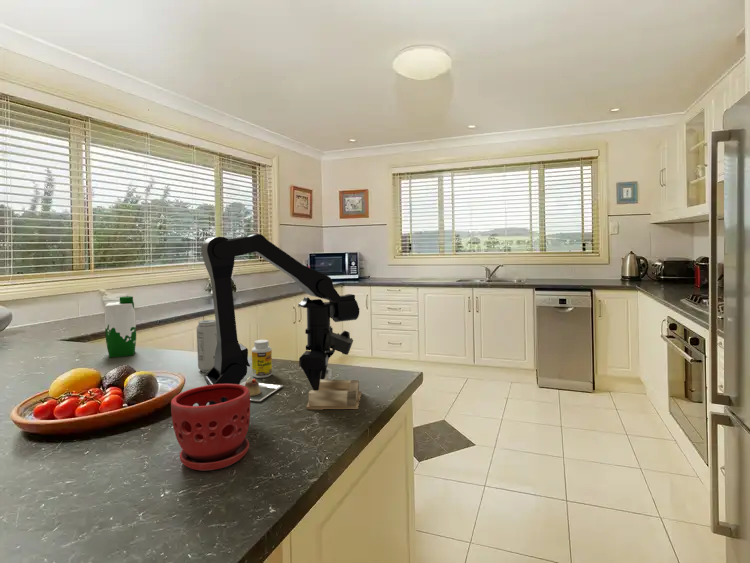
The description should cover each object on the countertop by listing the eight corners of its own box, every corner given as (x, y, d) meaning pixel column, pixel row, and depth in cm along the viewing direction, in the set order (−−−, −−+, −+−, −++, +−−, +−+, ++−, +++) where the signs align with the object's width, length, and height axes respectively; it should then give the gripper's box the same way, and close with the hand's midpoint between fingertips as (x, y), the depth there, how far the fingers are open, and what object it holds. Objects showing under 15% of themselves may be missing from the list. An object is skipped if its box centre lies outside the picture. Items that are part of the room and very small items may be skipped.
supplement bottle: (255, 379, 121) (254, 344, 120) (249, 374, 126) (248, 340, 125) (274, 376, 124) (274, 341, 124) (268, 371, 129) (267, 338, 128)
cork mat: (357, 409, 99) (357, 407, 99) (306, 409, 100) (306, 406, 100) (361, 393, 110) (361, 391, 110) (314, 392, 110) (314, 390, 110)
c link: (359, 391, 110) (359, 380, 109) (355, 406, 100) (355, 393, 99) (316, 391, 110) (316, 379, 110) (308, 405, 100) (308, 393, 100)
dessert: (284, 389, 115) (283, 371, 115) (260, 405, 104) (259, 386, 103) (244, 385, 118) (244, 368, 118) (217, 400, 107) (216, 381, 106)
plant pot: (259, 440, 84) (257, 380, 83) (240, 476, 71) (238, 406, 70) (191, 441, 84) (188, 381, 82) (160, 478, 70) (156, 407, 69)
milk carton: (136, 355, 148) (133, 298, 146) (105, 358, 144) (101, 299, 142) (138, 350, 156) (135, 295, 154) (108, 352, 152) (105, 296, 150)
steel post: (330, 387, 115) (330, 370, 114) (319, 387, 115) (319, 370, 115) (332, 383, 118) (332, 367, 117) (321, 383, 118) (321, 367, 118)
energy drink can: (219, 371, 129) (218, 322, 128) (198, 373, 127) (196, 323, 126) (219, 366, 135) (217, 319, 134) (198, 368, 133) (196, 320, 131)
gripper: (346, 331, 98) (347, 398, 99) (354, 317, 116) (354, 374, 118) (298, 331, 98) (299, 397, 100) (313, 317, 117) (314, 373, 118)
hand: (319, 384), depth 109 cm, fingers open, 9 cm apart
